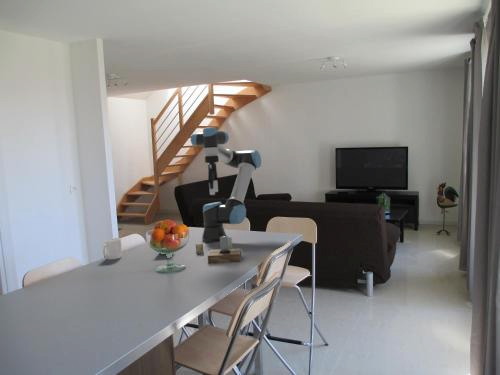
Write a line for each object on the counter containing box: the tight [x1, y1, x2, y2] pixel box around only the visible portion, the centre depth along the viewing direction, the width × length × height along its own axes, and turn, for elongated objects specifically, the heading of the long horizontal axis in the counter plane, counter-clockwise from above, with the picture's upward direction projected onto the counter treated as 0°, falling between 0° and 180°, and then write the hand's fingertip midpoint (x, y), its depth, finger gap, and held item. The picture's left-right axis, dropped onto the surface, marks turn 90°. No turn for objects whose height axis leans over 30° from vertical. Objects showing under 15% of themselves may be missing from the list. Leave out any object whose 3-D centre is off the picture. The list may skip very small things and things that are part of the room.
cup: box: [102, 237, 123, 261], centre depth 224 cm, size 8×12×10 cm
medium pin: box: [227, 235, 233, 249], centre depth 225 cm, size 4×4×8 cm
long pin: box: [219, 235, 229, 254], centre depth 209 cm, size 4×4×12 cm
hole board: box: [207, 248, 243, 265], centre depth 209 cm, size 12×16×4 cm
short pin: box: [195, 242, 205, 255], centre depth 226 cm, size 4×4×5 cm
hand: (214, 193), depth 230 cm, fingers open, 13 cm apart
